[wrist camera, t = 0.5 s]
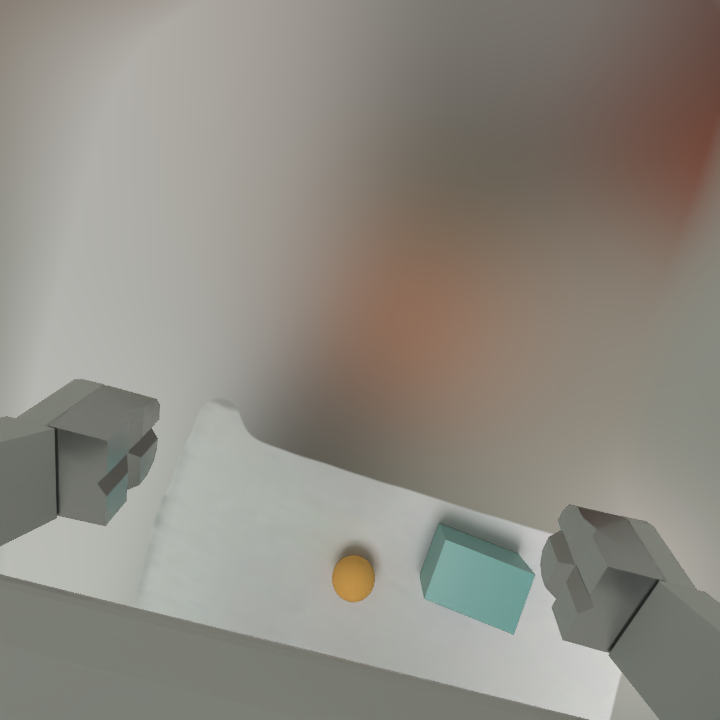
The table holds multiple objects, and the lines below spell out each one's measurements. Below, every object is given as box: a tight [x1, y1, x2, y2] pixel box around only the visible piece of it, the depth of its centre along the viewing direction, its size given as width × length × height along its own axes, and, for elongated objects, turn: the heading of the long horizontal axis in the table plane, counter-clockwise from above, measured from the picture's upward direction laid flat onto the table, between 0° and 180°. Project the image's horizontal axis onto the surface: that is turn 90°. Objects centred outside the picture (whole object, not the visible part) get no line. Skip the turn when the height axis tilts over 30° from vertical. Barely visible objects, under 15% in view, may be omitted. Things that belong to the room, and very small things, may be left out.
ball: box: [332, 555, 375, 602], centre depth 56 cm, size 5×5×5 cm
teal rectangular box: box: [420, 523, 535, 635], centre depth 55 cm, size 10×7×6 cm, turn 69°
